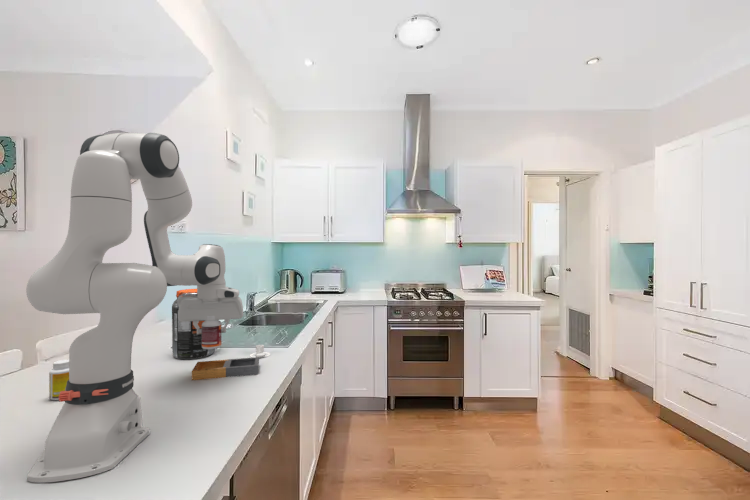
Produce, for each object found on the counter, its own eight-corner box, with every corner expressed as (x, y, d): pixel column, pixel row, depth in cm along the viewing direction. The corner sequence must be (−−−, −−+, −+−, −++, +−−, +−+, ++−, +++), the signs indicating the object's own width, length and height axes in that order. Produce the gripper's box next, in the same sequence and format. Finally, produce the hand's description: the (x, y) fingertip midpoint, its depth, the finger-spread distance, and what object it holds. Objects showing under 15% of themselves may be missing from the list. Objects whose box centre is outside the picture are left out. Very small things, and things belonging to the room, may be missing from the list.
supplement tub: (193, 348, 160) (193, 287, 160) (224, 351, 155) (224, 288, 155) (162, 358, 145) (162, 291, 145) (194, 362, 140) (194, 292, 140)
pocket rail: (258, 374, 126) (258, 365, 126) (191, 380, 121) (191, 371, 121) (259, 365, 136) (259, 357, 136) (197, 370, 131) (197, 361, 131)
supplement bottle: (79, 395, 108) (79, 359, 108) (56, 402, 103) (56, 365, 103) (67, 392, 111) (67, 357, 111) (44, 399, 106) (44, 362, 106)
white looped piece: (264, 360, 144) (263, 349, 144) (244, 359, 146) (244, 348, 146) (273, 353, 153) (273, 343, 153) (255, 352, 154) (255, 342, 154)
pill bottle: (223, 348, 126) (223, 315, 126) (203, 350, 123) (203, 317, 123) (219, 344, 132) (219, 312, 131) (200, 346, 128) (200, 314, 128)
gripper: (175, 294, 121) (175, 337, 121) (242, 292, 127) (242, 333, 127) (179, 292, 127) (179, 332, 127) (243, 290, 133) (243, 329, 133)
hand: (211, 333), depth 127 cm, fingers closed on pill bottle, 6 cm apart
